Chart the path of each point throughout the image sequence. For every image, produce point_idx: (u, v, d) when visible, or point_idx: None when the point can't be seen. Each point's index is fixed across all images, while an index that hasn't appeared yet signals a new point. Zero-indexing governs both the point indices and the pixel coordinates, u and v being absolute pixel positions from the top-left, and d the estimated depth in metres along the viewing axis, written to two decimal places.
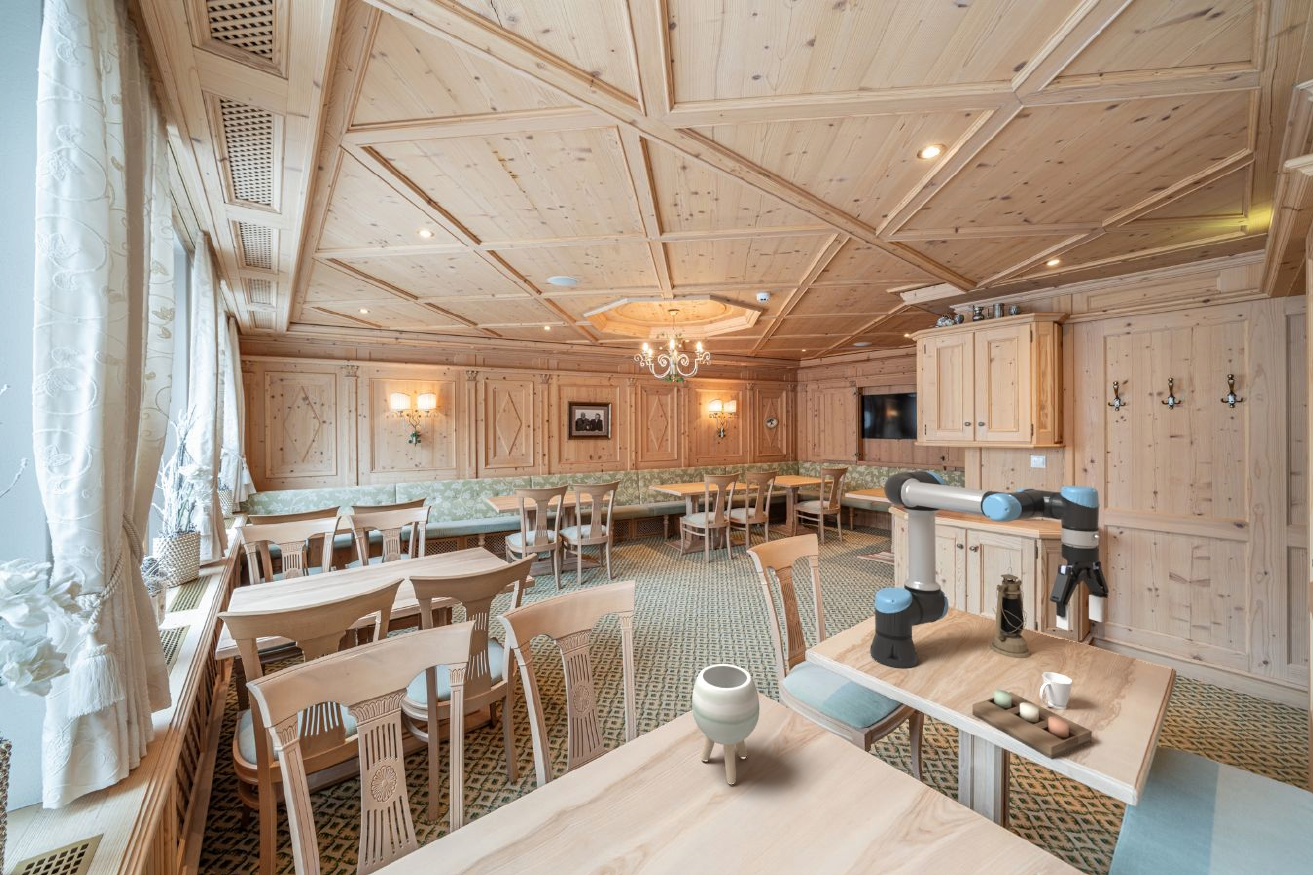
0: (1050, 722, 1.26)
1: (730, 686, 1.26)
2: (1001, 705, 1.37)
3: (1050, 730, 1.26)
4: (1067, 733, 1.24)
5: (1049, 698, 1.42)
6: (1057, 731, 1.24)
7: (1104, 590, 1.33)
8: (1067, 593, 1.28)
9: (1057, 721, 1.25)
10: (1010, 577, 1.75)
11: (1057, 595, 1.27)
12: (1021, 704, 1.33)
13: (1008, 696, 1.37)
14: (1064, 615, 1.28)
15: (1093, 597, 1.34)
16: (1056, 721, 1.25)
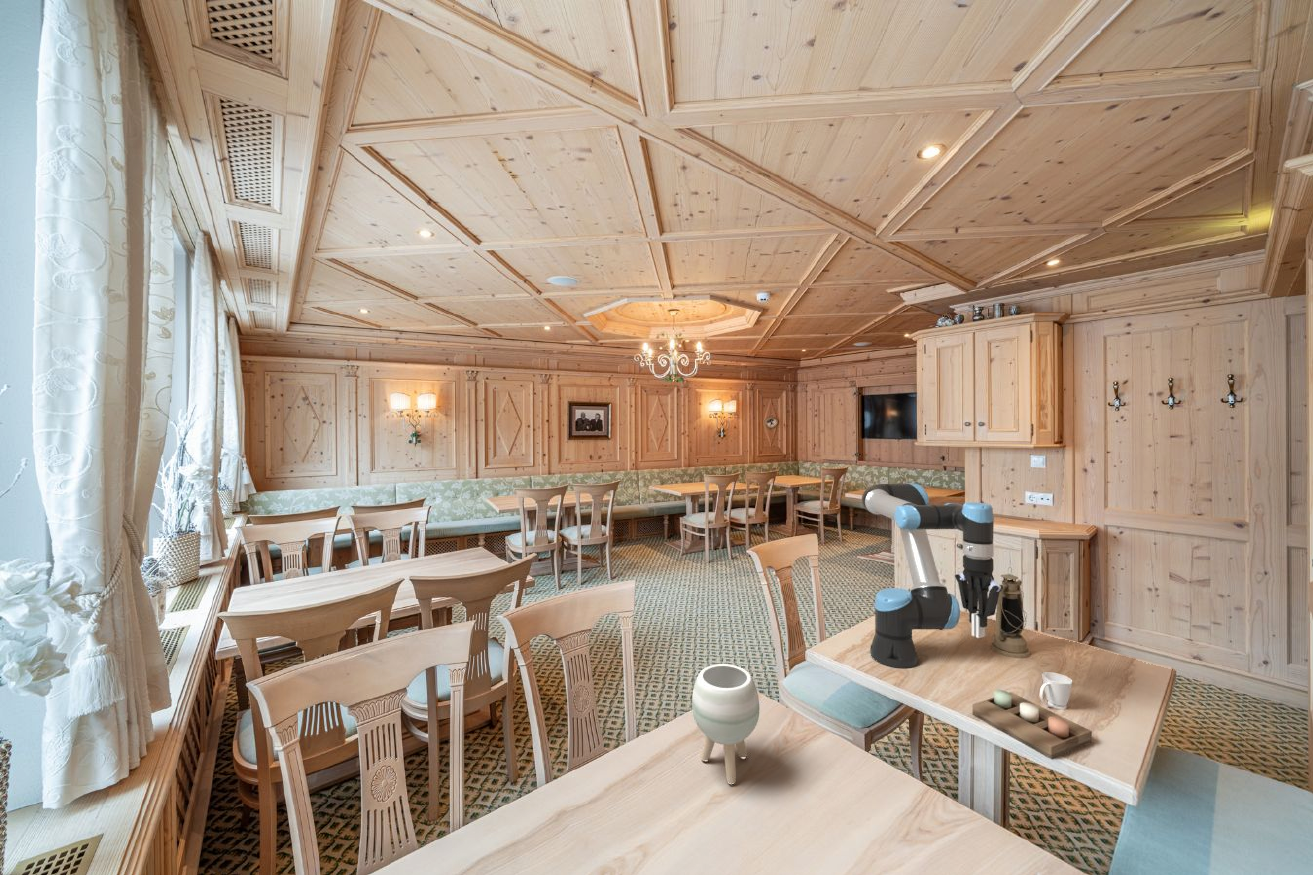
0: (1050, 722, 1.26)
1: (730, 686, 1.26)
2: (1001, 705, 1.37)
3: (1050, 730, 1.26)
4: (1067, 733, 1.24)
5: (1049, 698, 1.42)
6: (1057, 731, 1.24)
7: None
8: None
9: (1057, 721, 1.25)
10: (1010, 577, 1.75)
11: None
12: (1021, 704, 1.33)
13: (1008, 696, 1.37)
14: (971, 621, 1.46)
15: None
16: (1056, 721, 1.25)
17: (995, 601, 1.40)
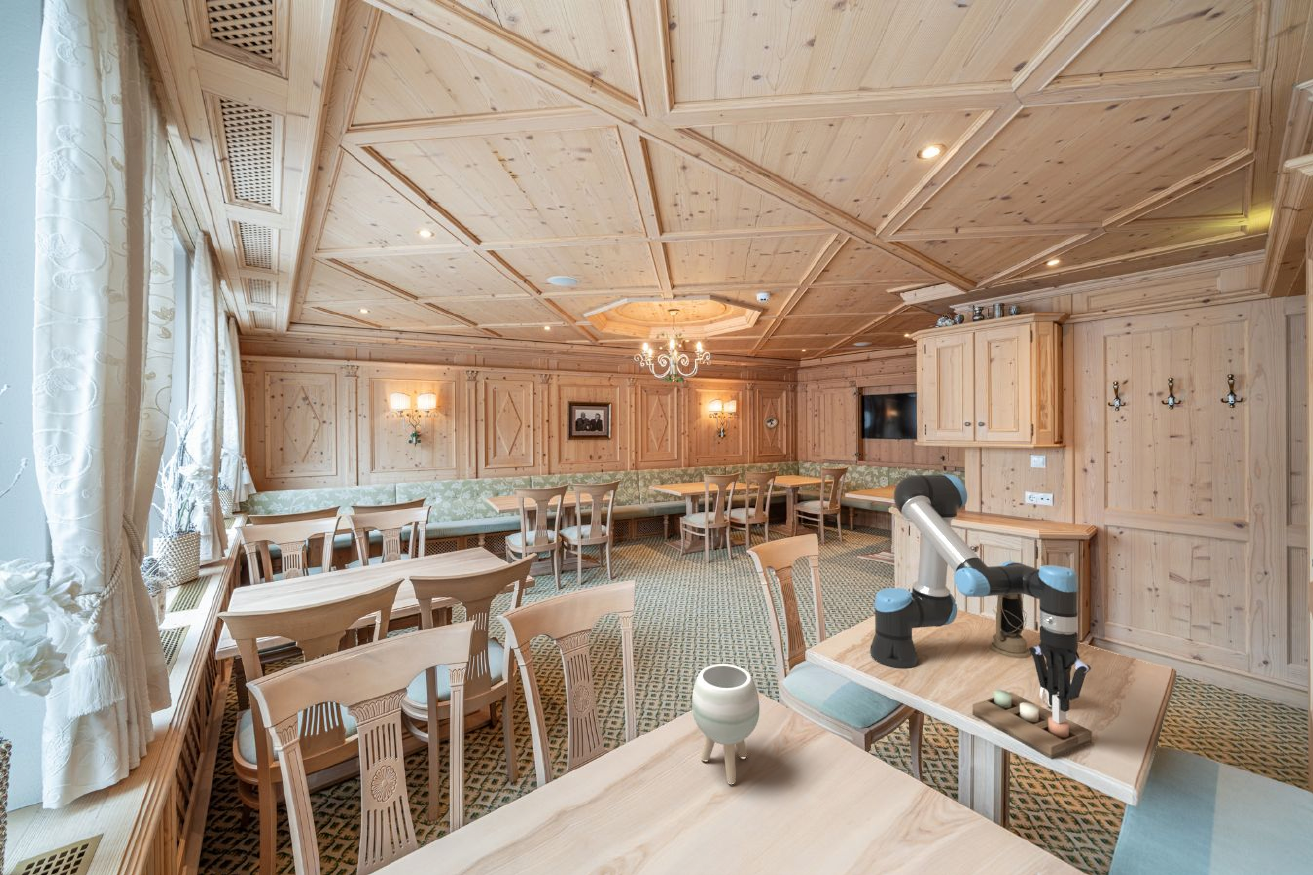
0: (1050, 722, 1.26)
1: (730, 686, 1.26)
2: (1001, 705, 1.37)
3: (1049, 731, 1.26)
4: (1067, 733, 1.24)
5: None
6: (1057, 731, 1.24)
7: None
8: None
9: None
10: None
11: None
12: (1021, 704, 1.33)
13: (1008, 696, 1.37)
14: None
15: None
16: None
17: (1080, 683, 1.21)
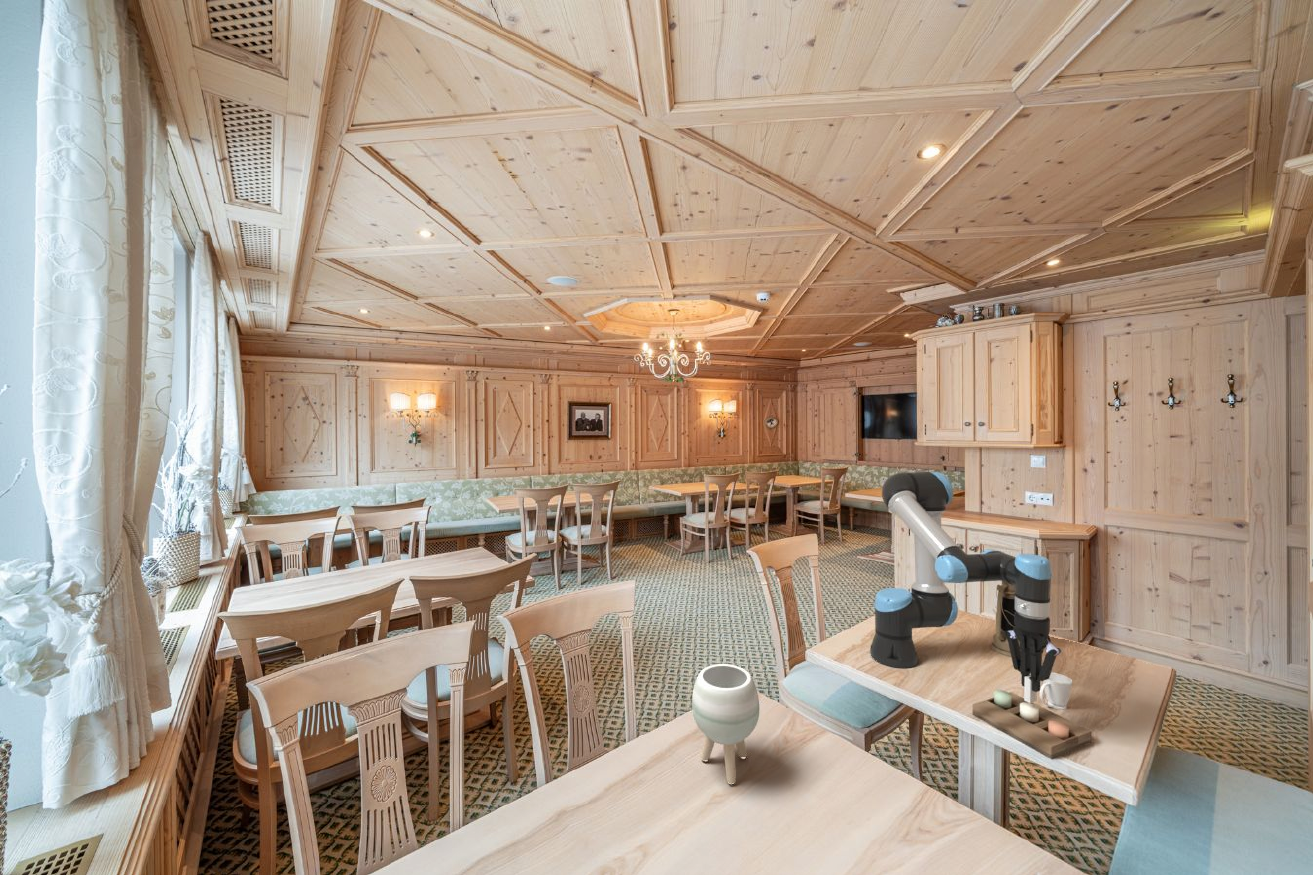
0: (1050, 726, 1.26)
1: (730, 686, 1.26)
2: (1001, 705, 1.37)
3: None
4: (1067, 737, 1.24)
5: (1049, 698, 1.42)
6: (1057, 735, 1.24)
7: None
8: None
9: (1057, 726, 1.25)
10: None
11: None
12: (1021, 704, 1.33)
13: (1008, 696, 1.37)
14: None
15: None
16: (1056, 725, 1.26)
17: (1051, 665, 1.27)
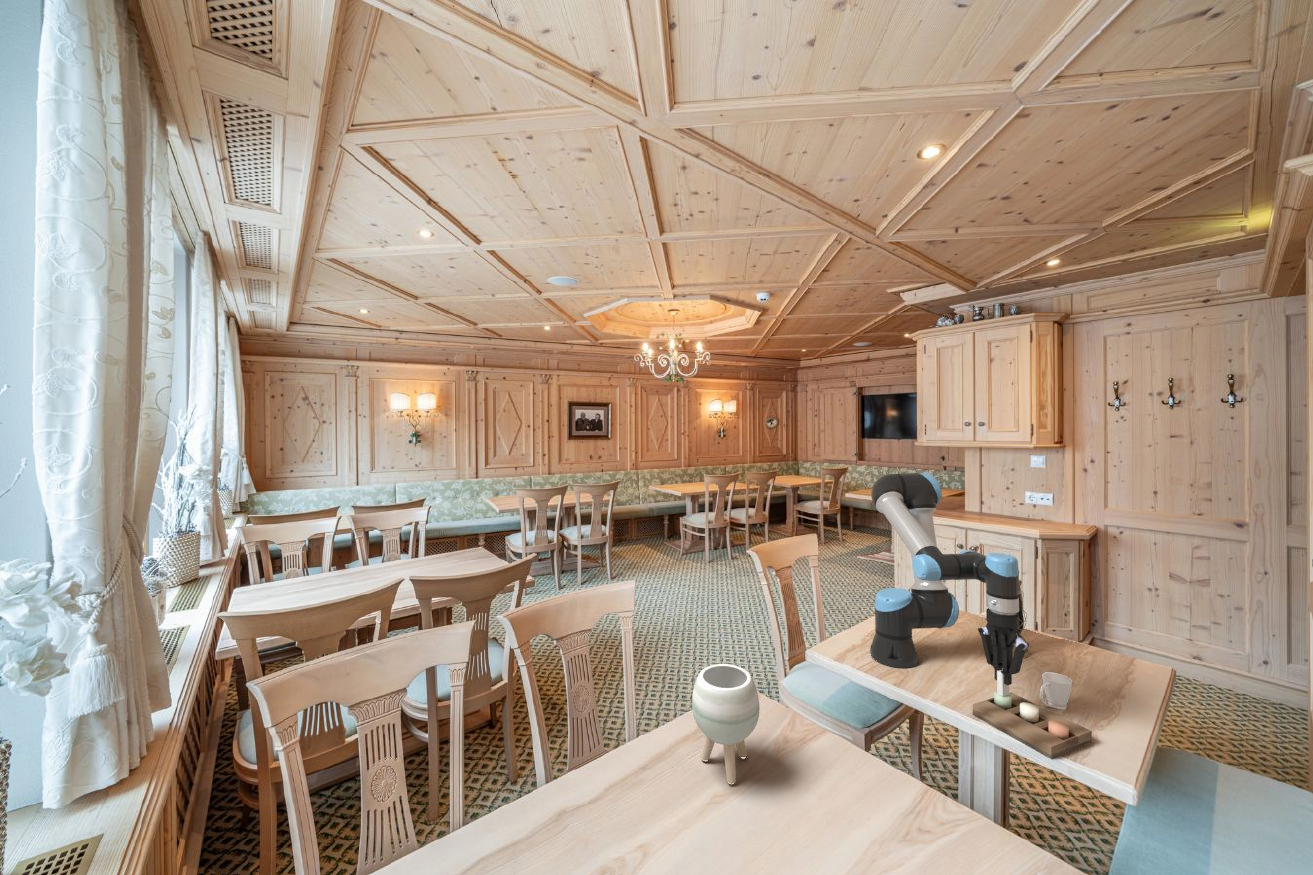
0: (1050, 726, 1.26)
1: (730, 686, 1.26)
2: (1001, 706, 1.37)
3: None
4: (1067, 737, 1.24)
5: (1049, 698, 1.42)
6: (1057, 735, 1.24)
7: None
8: None
9: (1057, 726, 1.25)
10: None
11: None
12: (1021, 704, 1.33)
13: (1008, 697, 1.37)
14: None
15: None
16: (1056, 725, 1.26)
17: (1021, 659, 1.34)
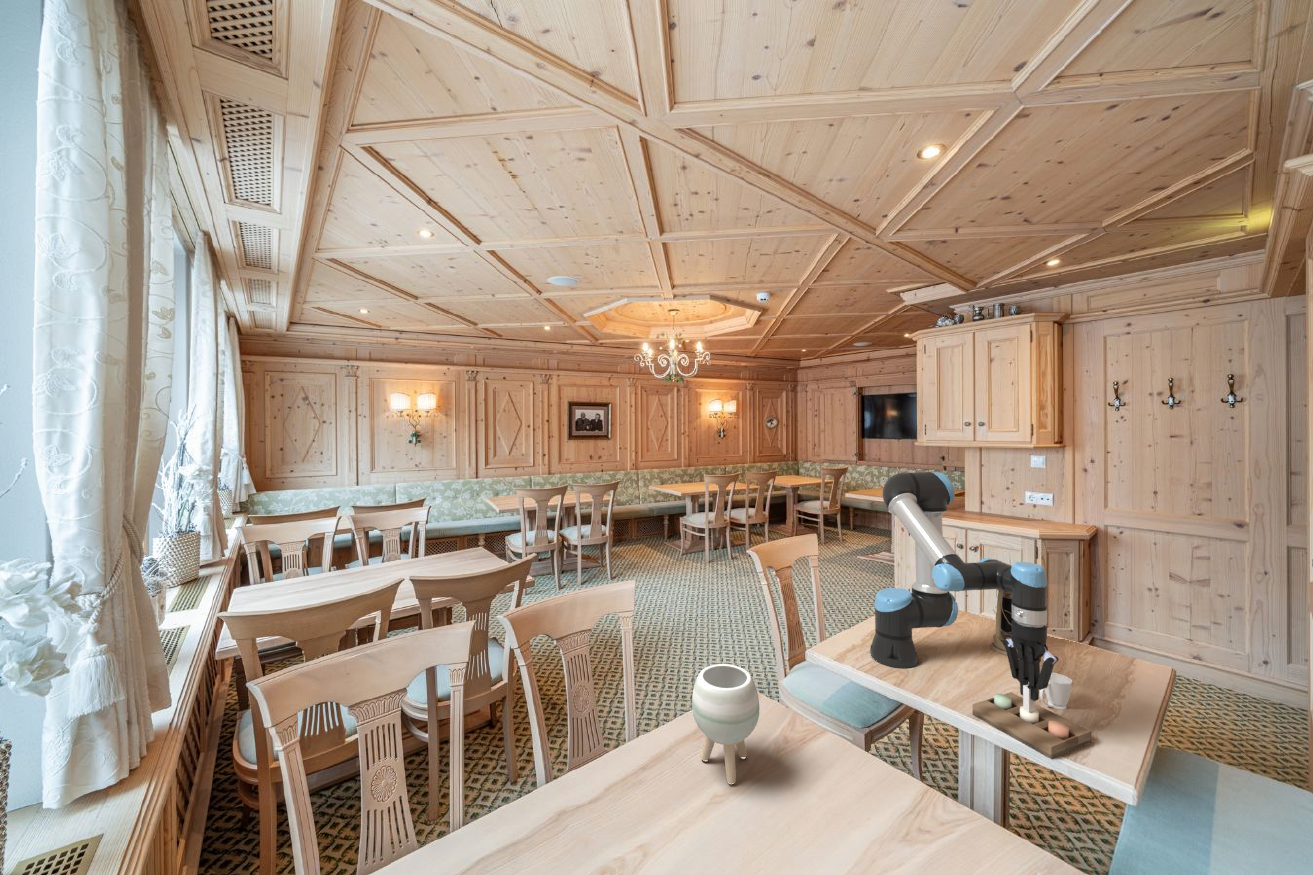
0: (1050, 726, 1.26)
1: (730, 686, 1.26)
2: None
3: None
4: (1067, 737, 1.24)
5: (1049, 698, 1.42)
6: (1057, 735, 1.24)
7: None
8: None
9: (1057, 726, 1.25)
10: None
11: None
12: (1021, 708, 1.33)
13: (1008, 700, 1.37)
14: None
15: None
16: (1056, 725, 1.26)
17: (1049, 673, 1.28)
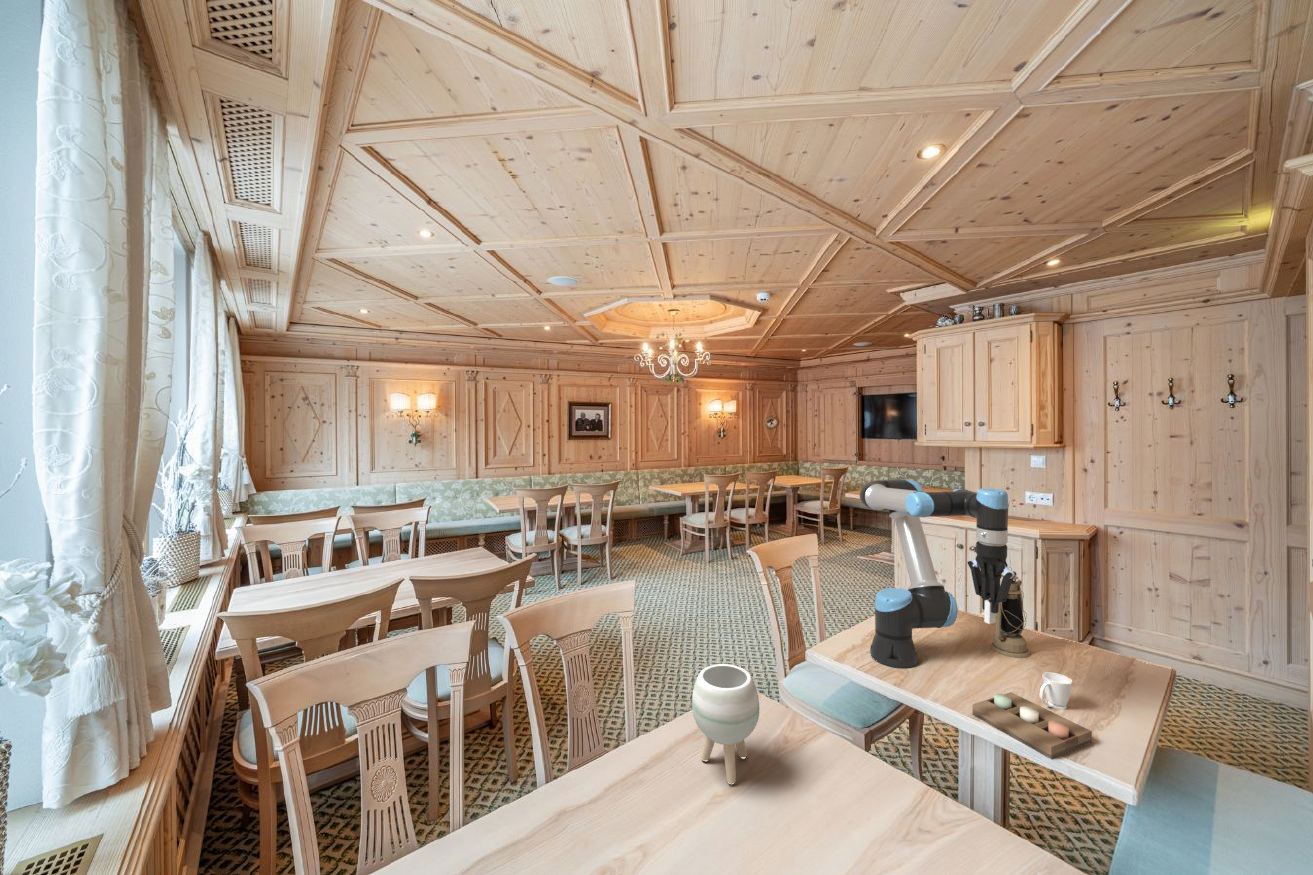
0: (1050, 726, 1.26)
1: (730, 686, 1.26)
2: None
3: None
4: (1067, 737, 1.24)
5: (1049, 698, 1.42)
6: (1057, 735, 1.24)
7: None
8: None
9: (1057, 726, 1.25)
10: None
11: None
12: (1021, 708, 1.33)
13: (1008, 700, 1.37)
14: (984, 608, 1.45)
15: None
16: (1056, 725, 1.26)
17: (1008, 587, 1.39)
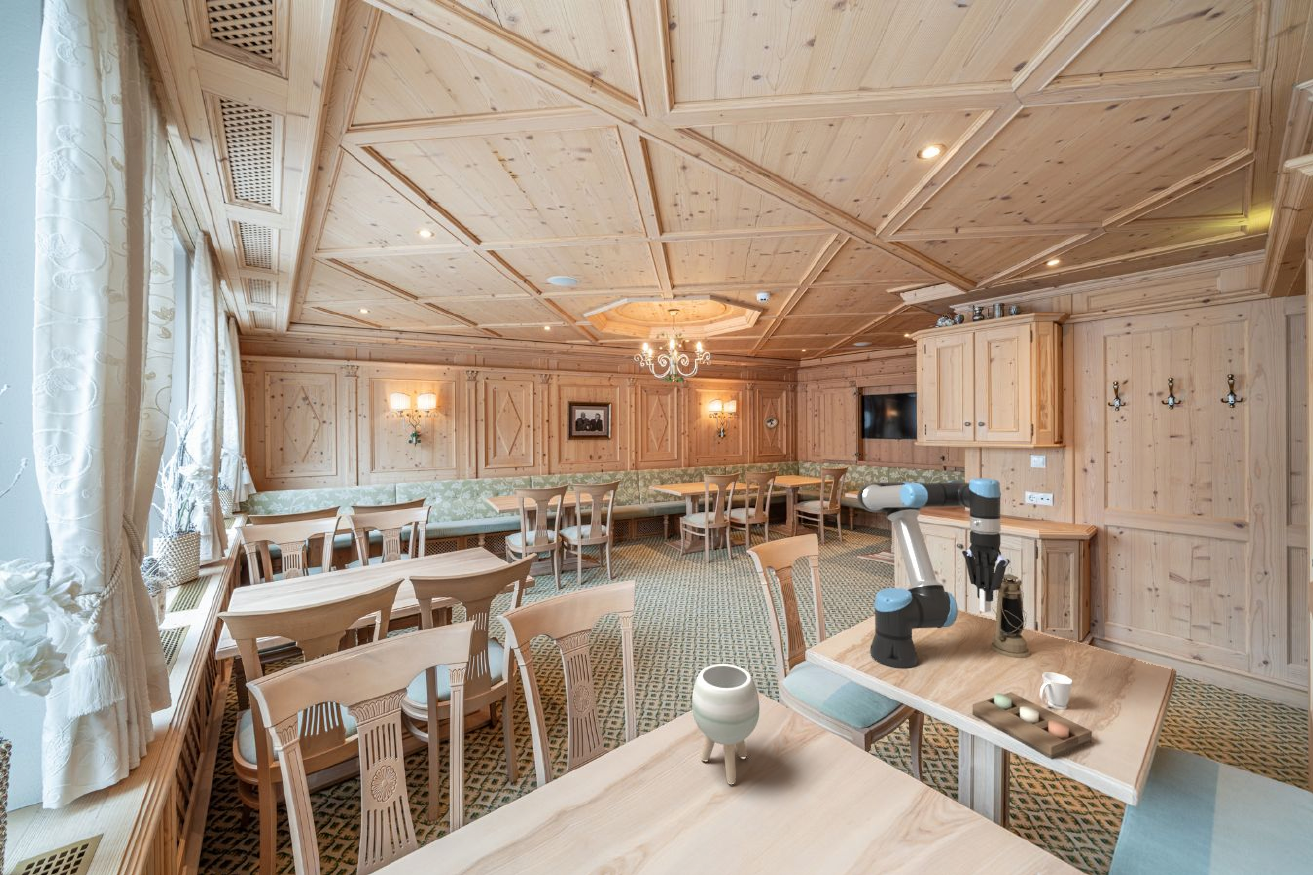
0: (1050, 726, 1.26)
1: (730, 686, 1.26)
2: None
3: None
4: (1067, 737, 1.24)
5: (1049, 698, 1.42)
6: (1057, 735, 1.24)
7: None
8: None
9: (1057, 726, 1.25)
10: (1010, 577, 1.75)
11: None
12: (1021, 708, 1.33)
13: (1008, 700, 1.37)
14: (979, 597, 1.46)
15: None
16: (1056, 725, 1.26)
17: (1001, 575, 1.41)
